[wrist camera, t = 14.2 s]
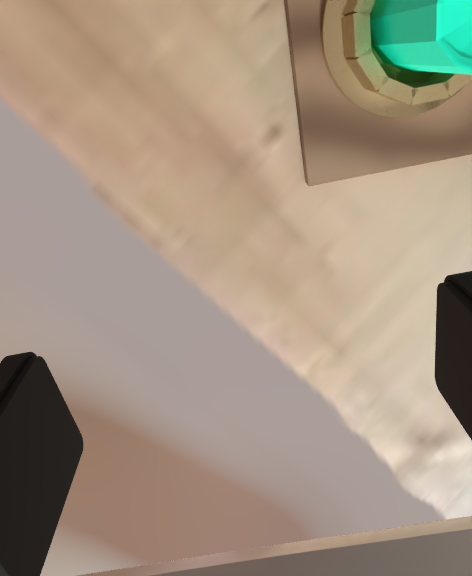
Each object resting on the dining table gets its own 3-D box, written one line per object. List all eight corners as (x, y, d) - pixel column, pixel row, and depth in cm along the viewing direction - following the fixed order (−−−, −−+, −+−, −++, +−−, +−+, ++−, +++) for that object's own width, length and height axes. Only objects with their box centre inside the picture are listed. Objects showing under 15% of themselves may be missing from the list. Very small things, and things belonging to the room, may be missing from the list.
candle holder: (311, -64, 28) (325, -81, 25) (502, -108, 28) (544, -131, 24) (328, 130, 34) (341, 138, 30) (487, 98, 33) (520, 102, 30)
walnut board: (269, -129, 28) (271, -139, 26) (527, -191, 27) (543, -204, 26) (305, 181, 37) (308, 186, 36) (498, 143, 36) (509, 146, 35)
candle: (441, -56, 28) (580, -125, 17) (468, 38, 30) (603, 29, 20) (354, 0, 29) (433, -32, 18) (386, 87, 32) (472, 102, 21)
